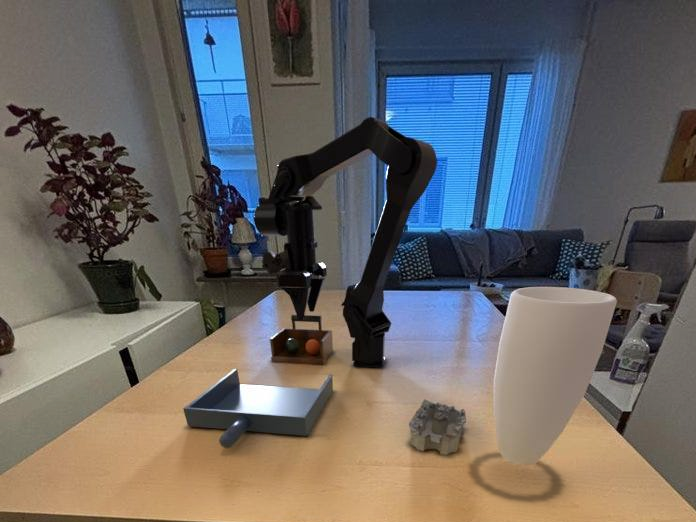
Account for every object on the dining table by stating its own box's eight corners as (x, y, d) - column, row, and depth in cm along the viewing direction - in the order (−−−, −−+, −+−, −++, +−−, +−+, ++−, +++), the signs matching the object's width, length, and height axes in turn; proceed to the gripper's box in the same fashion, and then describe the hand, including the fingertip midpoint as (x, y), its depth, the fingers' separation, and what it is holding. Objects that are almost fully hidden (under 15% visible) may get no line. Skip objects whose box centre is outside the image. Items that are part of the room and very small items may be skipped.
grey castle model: (455, 458, 55) (459, 432, 52) (403, 448, 57) (405, 423, 54) (467, 426, 63) (471, 402, 60) (421, 418, 65) (423, 395, 63)
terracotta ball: (322, 352, 93) (321, 338, 91) (318, 357, 90) (317, 342, 88) (308, 352, 93) (307, 337, 91) (304, 356, 91) (303, 341, 89)
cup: (466, 453, 56) (496, 285, 43) (540, 455, 55) (592, 286, 43) (482, 498, 47) (526, 303, 35) (570, 500, 47) (646, 305, 34)
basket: (333, 351, 96) (332, 315, 91) (323, 364, 87) (321, 326, 83) (286, 348, 98) (282, 313, 93) (271, 361, 89) (266, 324, 84)
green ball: (301, 351, 94) (300, 337, 92) (297, 356, 91) (296, 341, 89) (288, 351, 94) (286, 336, 92) (283, 355, 91) (281, 340, 89)
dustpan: (237, 385, 77) (234, 368, 75) (333, 391, 75) (332, 374, 73) (162, 449, 56) (156, 429, 54) (292, 461, 54) (290, 440, 52)
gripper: (278, 234, 91) (285, 306, 100) (246, 238, 76) (258, 323, 85) (325, 234, 90) (328, 308, 99) (302, 239, 75) (308, 325, 83)
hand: (306, 315), depth 92 cm, fingers open, 9 cm apart
